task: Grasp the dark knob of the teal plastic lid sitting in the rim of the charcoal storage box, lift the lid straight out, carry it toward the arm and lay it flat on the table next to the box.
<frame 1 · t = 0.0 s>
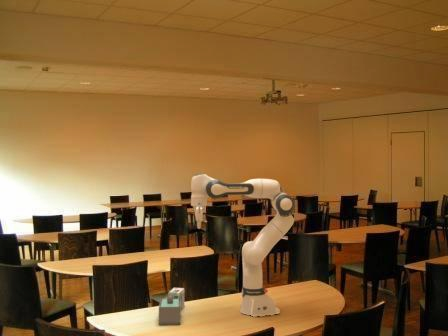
hand: (198, 227, 254), 48 cm above the table, fingers open, 8 cm apart
lid: (170, 305, 242), point 8 cm above the table, touching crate
light bulb box: (176, 309, 262), on the table
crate: (170, 320, 243), on the table
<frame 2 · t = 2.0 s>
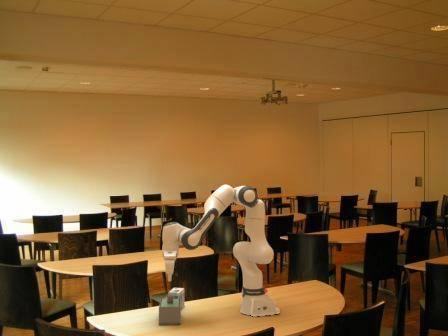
hand: (170, 278, 242), 22 cm above the table, fingers open, 8 cm apart
nothing on the table moved.
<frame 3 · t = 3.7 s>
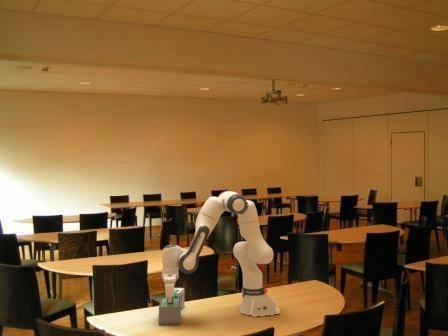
hand: (170, 301, 242), 10 cm above the table, fingers closed on lid, 3 cm apart
lid: (170, 305, 242), point 8 cm above the table, touching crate, gripper
everything else where it was.
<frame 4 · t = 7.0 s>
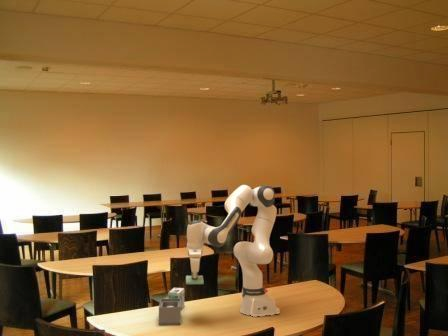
hand: (194, 276, 243), 23 cm above the table, fingers closed on lid, 3 cm apart
lid: (194, 280, 243), point 21 cm above the table, touching gripper
everything else where it was.
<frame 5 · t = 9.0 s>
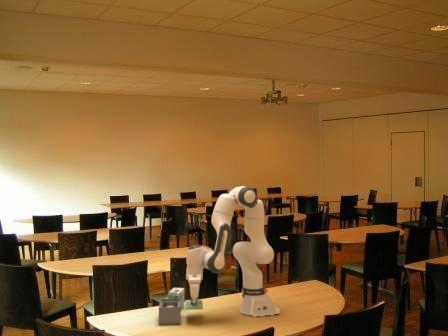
hand: (194, 301, 243), 10 cm above the table, fingers closed on lid, 3 cm apart
lid: (193, 305, 243), point 7 cm above the table, touching gripper
everything else where it was.
when the fingers open (4 cm above the table, at t = 10.6 s): lid drops 2 cm, on the table.
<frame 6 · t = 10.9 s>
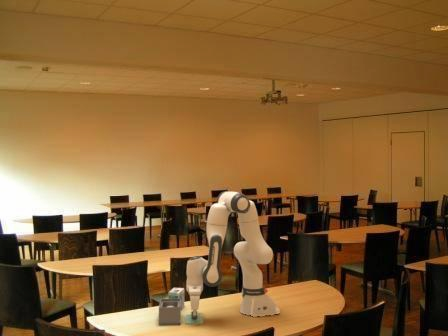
hand: (194, 312, 244), 4 cm above the table, fingers open, 6 cm apart
lid: (194, 320, 244), on the table
everything else where it was.
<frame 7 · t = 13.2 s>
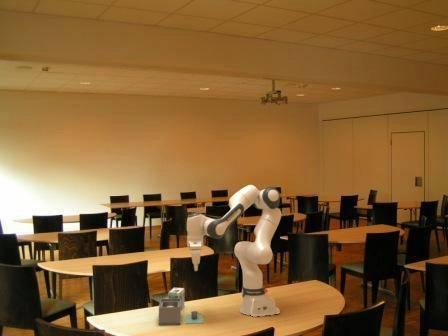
hand: (195, 268, 248), 26 cm above the table, fingers open, 8 cm apart
nothing on the table moved.
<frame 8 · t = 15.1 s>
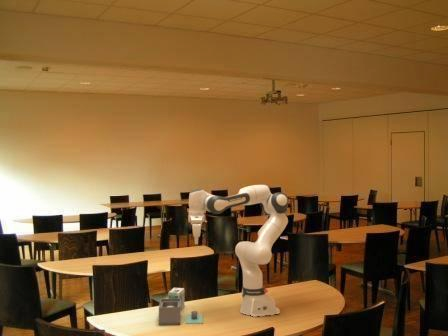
hand: (196, 242, 256), 39 cm above the table, fingers open, 8 cm apart
nothing on the table moved.
at the end: lid inside the target area (0.0 cm from its centre), on the table; lid tilted 0°; lid touching table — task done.
